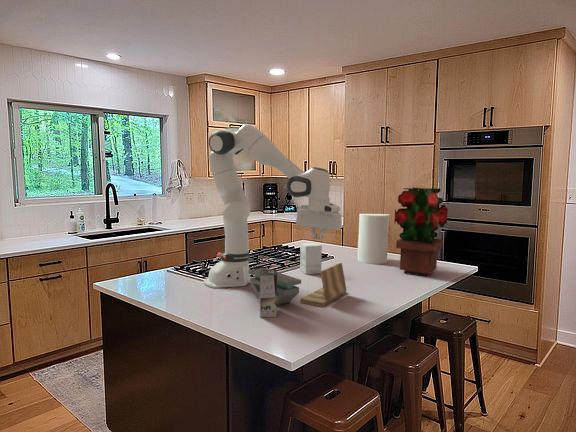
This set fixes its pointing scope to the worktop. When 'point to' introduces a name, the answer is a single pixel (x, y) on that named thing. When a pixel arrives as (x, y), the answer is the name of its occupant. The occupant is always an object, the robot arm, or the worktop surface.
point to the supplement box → (310, 258)
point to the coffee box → (268, 292)
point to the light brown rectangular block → (318, 298)
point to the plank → (333, 281)
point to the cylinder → (373, 238)
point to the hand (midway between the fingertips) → (317, 238)
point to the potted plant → (419, 229)
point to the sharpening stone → (284, 286)
